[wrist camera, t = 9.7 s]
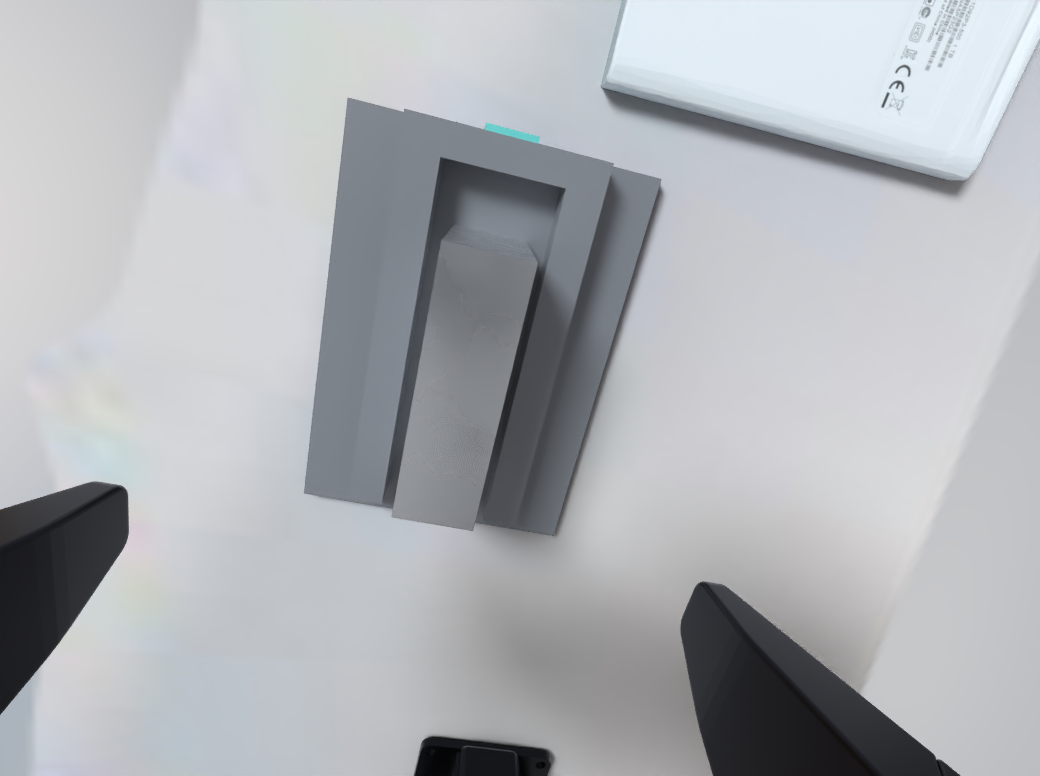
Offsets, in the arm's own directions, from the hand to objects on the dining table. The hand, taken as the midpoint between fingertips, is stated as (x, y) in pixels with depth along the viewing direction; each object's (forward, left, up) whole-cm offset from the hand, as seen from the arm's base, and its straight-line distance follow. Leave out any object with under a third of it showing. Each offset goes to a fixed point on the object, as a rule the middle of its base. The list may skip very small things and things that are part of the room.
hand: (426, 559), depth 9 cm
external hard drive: (+13, -9, -13) cm, 20 cm away
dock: (0, 0, -12) cm, 12 cm away
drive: (0, 0, -11) cm, 11 cm away
